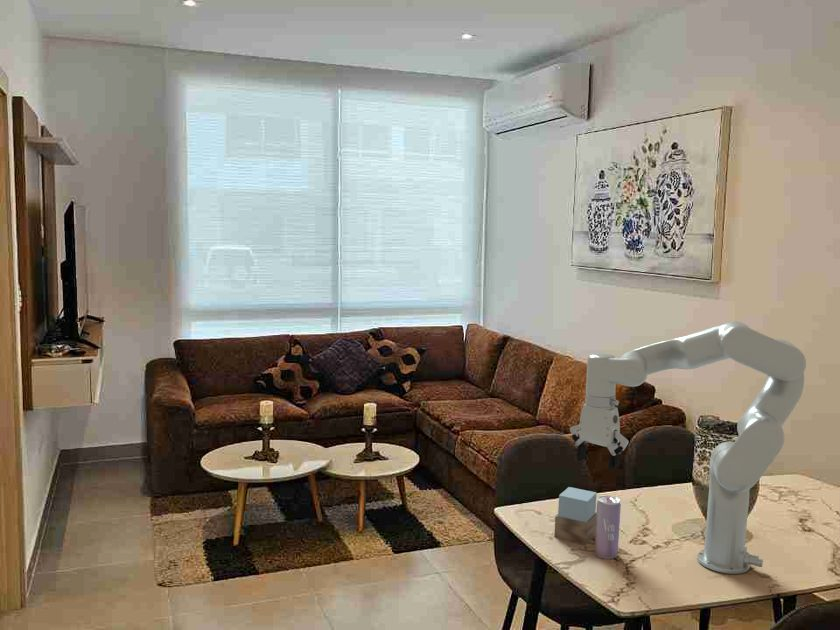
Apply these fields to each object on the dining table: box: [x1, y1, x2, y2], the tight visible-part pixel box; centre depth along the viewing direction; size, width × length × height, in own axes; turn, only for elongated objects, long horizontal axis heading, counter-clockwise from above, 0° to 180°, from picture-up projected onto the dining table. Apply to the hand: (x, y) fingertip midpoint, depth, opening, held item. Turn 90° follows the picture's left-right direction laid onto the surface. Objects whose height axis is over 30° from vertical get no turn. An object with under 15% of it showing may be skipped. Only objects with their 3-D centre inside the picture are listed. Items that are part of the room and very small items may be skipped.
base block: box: [553, 513, 596, 545], centre depth 212 cm, size 9×9×6 cm
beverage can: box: [593, 495, 622, 560], centre depth 199 cm, size 6×6×15 cm
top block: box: [557, 486, 598, 523], centre depth 211 cm, size 8×8×6 cm
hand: (596, 464), depth 202 cm, fingers open, 9 cm apart
